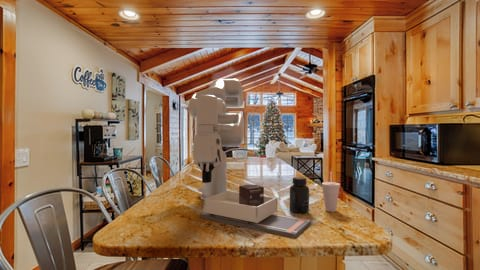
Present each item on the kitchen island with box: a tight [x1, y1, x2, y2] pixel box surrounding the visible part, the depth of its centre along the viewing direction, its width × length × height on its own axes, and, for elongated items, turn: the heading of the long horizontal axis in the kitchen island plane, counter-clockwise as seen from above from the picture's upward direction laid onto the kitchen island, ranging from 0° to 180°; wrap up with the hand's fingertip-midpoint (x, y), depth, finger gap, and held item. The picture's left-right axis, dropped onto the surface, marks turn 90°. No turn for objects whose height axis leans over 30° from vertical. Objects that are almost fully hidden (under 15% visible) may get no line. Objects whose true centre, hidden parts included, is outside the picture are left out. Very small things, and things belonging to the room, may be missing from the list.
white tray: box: [203, 190, 278, 223], centre depth 93 cm, size 20×14×5 cm
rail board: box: [199, 212, 312, 239], centre depth 90 cm, size 33×14×1 cm, turn 58°
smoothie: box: [321, 171, 341, 212], centre depth 102 cm, size 6×6×14 cm
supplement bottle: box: [289, 176, 310, 215], centre depth 100 cm, size 7×7×12 cm
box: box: [238, 183, 265, 207], centre depth 91 cm, size 6×6×7 cm
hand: (206, 182), depth 99 cm, fingers closed
